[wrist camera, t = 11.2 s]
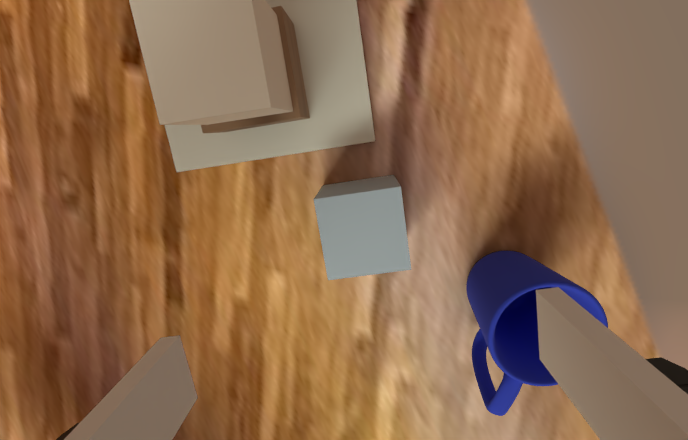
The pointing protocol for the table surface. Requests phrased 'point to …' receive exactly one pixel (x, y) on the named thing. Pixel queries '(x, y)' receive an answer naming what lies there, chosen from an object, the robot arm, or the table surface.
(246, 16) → the brick
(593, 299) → the mug
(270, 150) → the plate
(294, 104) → the base brick
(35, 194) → the table surface
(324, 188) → the brick
